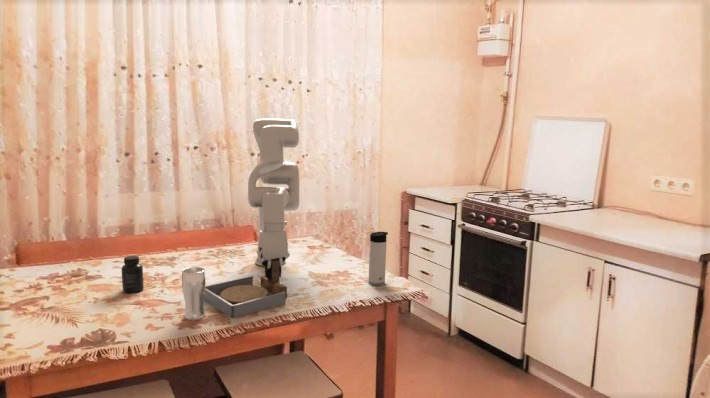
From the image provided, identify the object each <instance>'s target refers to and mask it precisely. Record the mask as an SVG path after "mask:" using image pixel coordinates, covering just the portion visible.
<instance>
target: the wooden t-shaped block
mask: <svg viewBox="0 0 710 398" xmlns="http://www.w3.org/2000/svg"><path fill="white" fill-rule="evenodd" d="M270 268H272V279H268V278H266V276H265V275H261V276H260V287H263V288H265V289H267V291H268V293H270V294H271V295H273V294H277V293H281V292H285V299H286V298H287V297H288V286H287V285H285V284H284V283H281V282H280V277H279V260H278V259H272V260H271V267H270Z"/></svg>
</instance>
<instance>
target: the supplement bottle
mask: <svg viewBox="0 0 710 398" xmlns="http://www.w3.org/2000/svg"><path fill="white" fill-rule="evenodd" d="M121 284H122V286H121V287H122V291H123V293H125V294H135V293H139V292H142V291H143V290H144V289H145V288H144V287H145V286H144V269H143V265H142V264H141V263H140V257H139V256H138V255H128V256H125V257H124V258H123V265H122V267H121Z"/></svg>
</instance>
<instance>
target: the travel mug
mask: <svg viewBox="0 0 710 398" xmlns="http://www.w3.org/2000/svg"><path fill="white" fill-rule="evenodd" d="M388 234H389V233H388V231H376V232H375V231H374V232H371V234H369V252H368V254H369V256H368V258H369V259H368V281H367V282H368V284H369V285H371V286H377V287H379V286H380V287H381V286H384V285H385V283H386V265H387V263H386V261H387V235H388Z"/></svg>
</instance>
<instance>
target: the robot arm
mask: <svg viewBox="0 0 710 398" xmlns="http://www.w3.org/2000/svg"><path fill="white" fill-rule="evenodd" d="M252 129H253V130H252V131H253V135H254V139H255V141H256V143H257V146H258V149H259V163H258V164H257V165H256V166H255V167H254V168H253V169H252V170H251V172H250V174H249V178H248V182H247V201H248V204H249V206H250V207H251V208H254V209H257V212H258V240H257V250H256V254H257V257H256V258H255V259H254V261H255V264H257V265H258V266H262V267H264V276H266V278H268V279H272V268H270V267H271V260H272V259H278V260H279V278H280V277H282V266H283V265H284V264H286V259H288V258H290V255H291V254H290V252H289V247H288V246H289V244H288V235H287V231H286V229H285V227H286V226H287V224H288V222H287V221H285V212H294V211H295V212H296V211H298V208H299V206H300V170H299V166H298V164H297V163H296V162H294V161H293V162H291V161H284V148H286V149H287V148H289V149H291V148H293V149H294V148H297V146H298V145H299V143H300V133H299V127H298V125H297V121H295V119H289V118H288V119H286V118H258V119H255V120H254V121H253V123H252ZM259 179H260V181H261V183H262V184H264V185H269V186H257V181H259ZM270 185H271V186H270ZM273 185H274V186H273ZM280 186H281V187H280ZM282 186H287V187H282Z"/></svg>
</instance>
